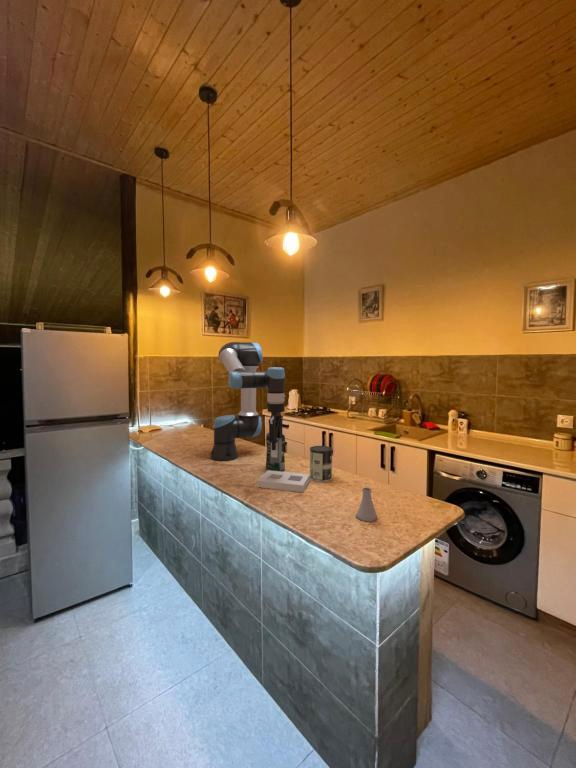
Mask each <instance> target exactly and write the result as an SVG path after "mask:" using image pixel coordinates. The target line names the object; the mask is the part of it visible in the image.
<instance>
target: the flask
mask: <svg viewBox="0 0 576 768" xmlns="http://www.w3.org/2000/svg"><path fill="white" fill-rule="evenodd" d="M361 491H362V498H361V502H360V504H359V507H358V510H357V512H356V515H355V518H357V519H358V520H360V521H362V522H363V521H364V522H367V523H368V522H369V523H371V522H374V521H376V520H377V519H378V515H377V511H376V509H375V506H374V503H373V499H372V491H373V489H372V488H371V487H366V486H364V487H362V489H361Z"/></svg>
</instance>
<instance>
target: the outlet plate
mask: <svg viewBox="0 0 576 768" xmlns="http://www.w3.org/2000/svg"><path fill="white" fill-rule="evenodd" d="M256 481H257V482H256V485H257V488H259V487H261V489H268V488H269V489H270V490H279V491H285V492H287V491H288V492H295V493H304V491H305V490H306V488H307V487H308V485H309V483H310V481H311V479H310V473H309V474H308V473H300V472H299V473H298V472H289V471H271V470H268V469H267V471H265V473H263V474H262V475H261V476H260V477H259V478H258V479H257V480H256ZM269 489H268V490H269Z"/></svg>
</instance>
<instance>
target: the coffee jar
mask: <svg viewBox="0 0 576 768" xmlns="http://www.w3.org/2000/svg"><path fill="white" fill-rule="evenodd" d="M265 436H266V438H265V443H266V455H265V456H266V457H265V458H266V460H265V468H266V470H267V471H268V470H270V471H281V472H284V470H285V469H286V463H285V462H286V461H285V460H286V459H285V443H286V436H285V434H283V433H282V437H281V438H283V440H282V461H281V462H280V463H271V462H270V442H269V432H267V434H266V435H265Z"/></svg>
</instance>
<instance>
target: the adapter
mask: <svg viewBox="0 0 576 768" xmlns="http://www.w3.org/2000/svg"><path fill="white" fill-rule="evenodd" d="M277 442H278V457H277V458H276V457H271V442H270V462H271V463H280V462H281V461H282V438H277Z"/></svg>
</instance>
